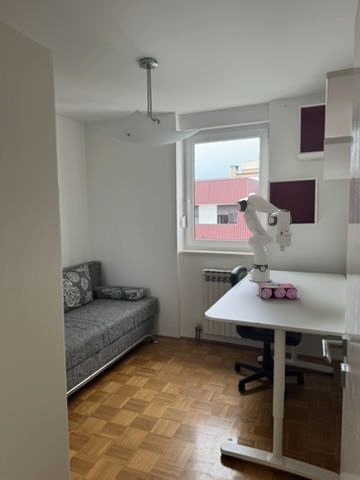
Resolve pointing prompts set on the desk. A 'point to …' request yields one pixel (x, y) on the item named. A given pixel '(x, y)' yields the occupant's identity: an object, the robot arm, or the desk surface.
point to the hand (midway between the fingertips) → (282, 251)
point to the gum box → (277, 291)
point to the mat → (278, 299)
